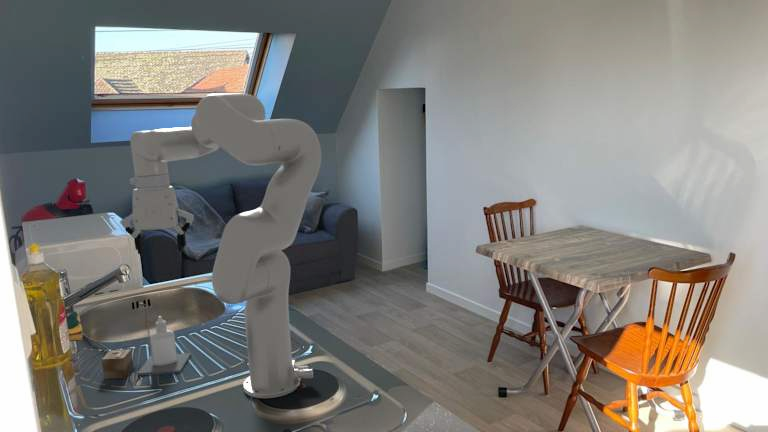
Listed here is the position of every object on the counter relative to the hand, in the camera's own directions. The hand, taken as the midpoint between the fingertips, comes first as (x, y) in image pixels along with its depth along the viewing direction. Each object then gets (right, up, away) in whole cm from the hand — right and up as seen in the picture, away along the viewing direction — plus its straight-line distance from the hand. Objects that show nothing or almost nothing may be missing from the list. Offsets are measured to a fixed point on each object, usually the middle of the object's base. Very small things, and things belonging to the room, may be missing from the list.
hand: (161, 251), depth 144 cm
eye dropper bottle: (+1, -28, 0) cm, 28 cm away
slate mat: (+1, -28, 0) cm, 28 cm away
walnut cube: (-9, -29, -4) cm, 31 cm away
